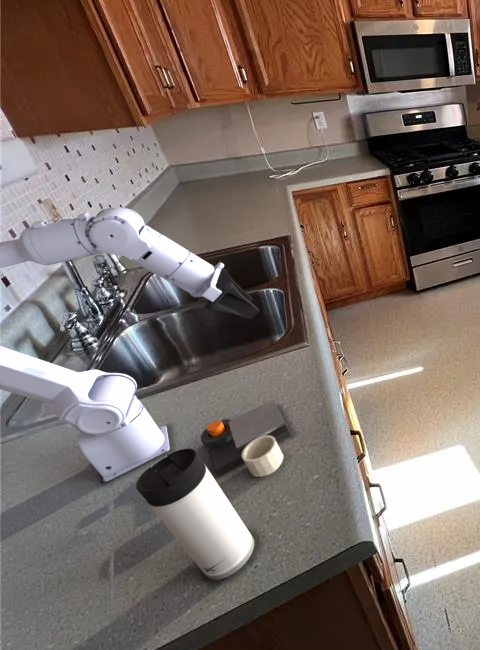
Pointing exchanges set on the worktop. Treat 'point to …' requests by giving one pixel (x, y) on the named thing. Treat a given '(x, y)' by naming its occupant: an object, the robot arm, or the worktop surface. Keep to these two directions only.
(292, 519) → the worktop surface
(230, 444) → the scale
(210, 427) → the tare button
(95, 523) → the worktop surface
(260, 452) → the cream hollow cylinder
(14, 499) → the worktop surface
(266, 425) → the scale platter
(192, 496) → the travel mug
